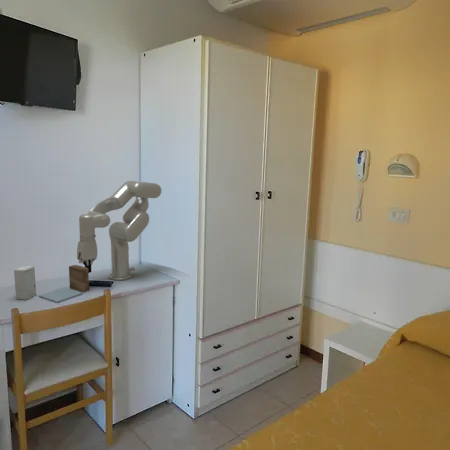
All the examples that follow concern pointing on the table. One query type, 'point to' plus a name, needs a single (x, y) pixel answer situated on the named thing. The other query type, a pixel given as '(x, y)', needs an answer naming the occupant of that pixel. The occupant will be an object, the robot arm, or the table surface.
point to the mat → (60, 295)
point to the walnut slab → (79, 278)
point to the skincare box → (25, 282)
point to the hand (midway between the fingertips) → (88, 272)
